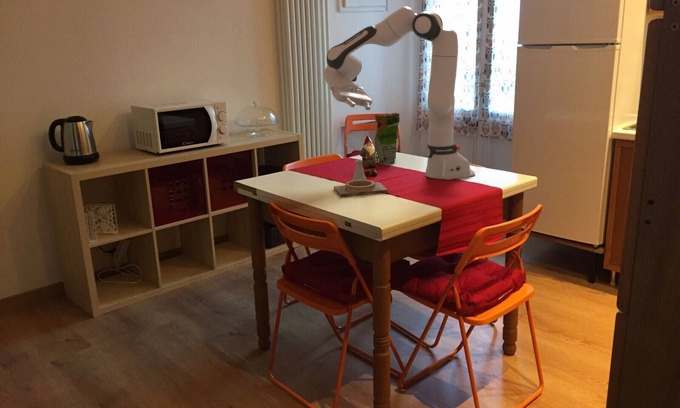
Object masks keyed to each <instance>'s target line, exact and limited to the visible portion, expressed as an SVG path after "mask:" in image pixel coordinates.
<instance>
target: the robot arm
mask: <svg viewBox="0 0 680 408" xmlns="http://www.w3.org/2000/svg"><path fill="white" fill-rule="evenodd" d="M443 26H444V25H443V19H442V18H441V16H440V15H439V14H438V13H436V12H433V11H430V10H429V11H427V10H426V11H420V12H419V13H416V12H415V11H414V9H413V8H411V7H409V6H402V7H400V8H398V9H397V10H395V11H394V12H392V13H391V14H389V15H388V16H387V17H386V18H384V19H383V20H381V21H380V22H379V23H377V24H374V25H370V26H366V27H364V28H362V29H361V30H359V31H358V32H357V33H354V34H353V35H352V36H350V37H349V38H347V39H346V40H344V41H343V42H341V43H339V44H336V45H334V46H332V47H331V48H330V49H328V51H327V54H326V63H327V66H326V67H325V68H324V71H323V79H324V80H325V82H326V84H327V85H328V87H329V89H330V91H331V95H332V97H333V98H334V99H335V100H336V101H337V102H341V103H345V104H346V105H349V107H350V108H354V107H355V106H359V107H364V109H365V110H366V111H370V110H371V105H372V104H373V99H372V97H371V96H370V95H369V94H368V93H367V92H366V91H365V89H364V87H362V86H360V85H358V84H356V83H354V82H353V81H354V80H355V79H356V78H357V77H358V76H359V74H361V71H362V68H363V66H362V60H360V59H359V57H357V56H355V55H354V54H353V53H354V52H356V51H357V50H359V49H360V48H363V46H366V45H377V46H381V47H391V46H393V45H395V44H398V42H399V41H400V40H401V39H403V38H404V37H405V36H407V35H408V34H409V33H412V32H413V33H414V35H416V36H417V37H418V38H420V39H423V40H426V41H429V42H431V58H430V59H431V61H430V76H429V82H428V83H429V84H428V92H427V102H426V103H427V104H426V105H427V107H428V110H429V112H428V113H429V115H428V132H427V133H428V135H427V136H428V139H427V141H428V143H427V147H426V148H427V149H426V155H427V162H426V163H427V164H426V169H425V173H424V176H425V177H427V178H431V179H440V180H445V181H447V180H455V179H461V178H468V177H473V176H475V175H476V172H475V171H474V170H473V169H471V165H470V162H469V160H468V159H467V158H465V157H464V156H463V155H462V154H460V153H459V152H458V151H461V149H462V146H461V145H457V144H454V128H455V127H454V126H455V125H454V123H455V102H456V101H455V100H456V99H455V89H456V79H457V72H458V71H457V70H458V69H457V68H458V58H459V43H458V42H459V41H458V40H459V39H458V34H457V31H455V30H453V29H451V28H446V27H443Z"/></svg>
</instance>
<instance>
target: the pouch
mask: <svg viewBox="0 0 680 408" xmlns="http://www.w3.org/2000/svg"><path fill="white" fill-rule="evenodd" d="M373 118H375V119H374V120H375V122H376V132H375V136H374V141H373V142H374V149H375V150H376V151H375V150H374V151H375V153H376V152H377V155H378V159H379V161H378V162H382V163H384V164H387V165H388V164H394V163H395V162H396V159H397V150H398V148H397V140H398V131H399V124H400V119H401V118H400V113H397V112H393V113H387V112H386V113H385V114H380V115H379V114H375V115H374V116H373Z"/></svg>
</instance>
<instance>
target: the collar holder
mask: <svg viewBox="0 0 680 408" xmlns="http://www.w3.org/2000/svg"><path fill="white" fill-rule="evenodd" d="M333 190H334V192H335V193H336V194H337V195H338V197H339V198H340V199H342V198H350V197H352V198H353V197H361V196H372V195H382V194H388V189H387V188H386V187H385V185H383V184H382V183H381V182H378V181H375V182H374V181H373V180H369V179H367V180H349V181H346V183H345V184H343V185H334V186H333Z"/></svg>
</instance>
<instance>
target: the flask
mask: <svg viewBox="0 0 680 408" xmlns="http://www.w3.org/2000/svg"><path fill="white" fill-rule="evenodd" d="M354 162H355V169H354V173H353V177H352V180H368V179H367V177H366V175H365V172H364V169H363V160H362V159H357V160H355V161H354ZM352 180H351V181H352Z"/></svg>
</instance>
